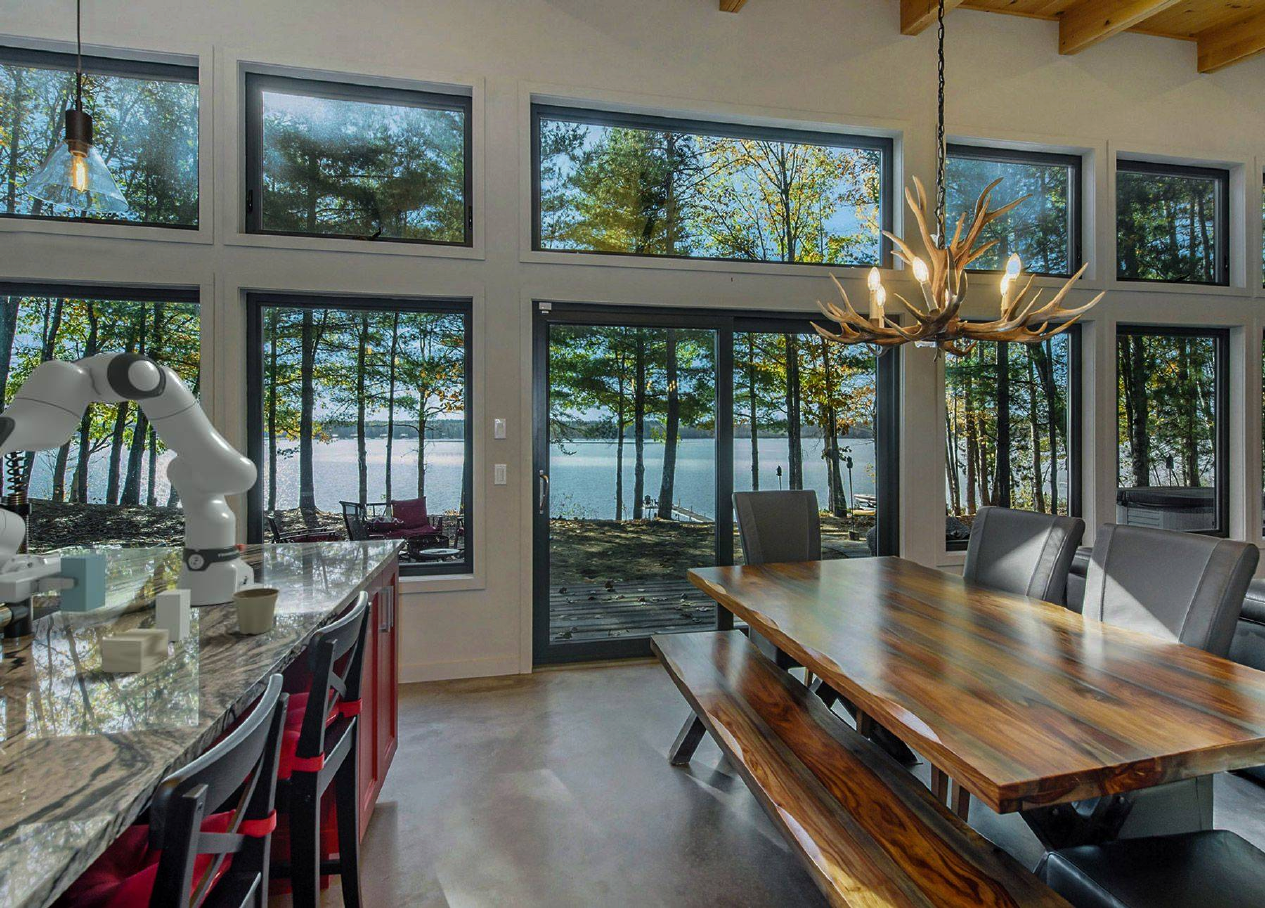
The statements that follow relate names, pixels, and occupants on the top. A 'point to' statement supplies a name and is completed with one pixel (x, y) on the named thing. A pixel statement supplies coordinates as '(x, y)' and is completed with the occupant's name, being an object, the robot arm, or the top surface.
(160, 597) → the white block
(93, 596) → the teal block
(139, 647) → the birch block
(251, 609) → the flower pot
